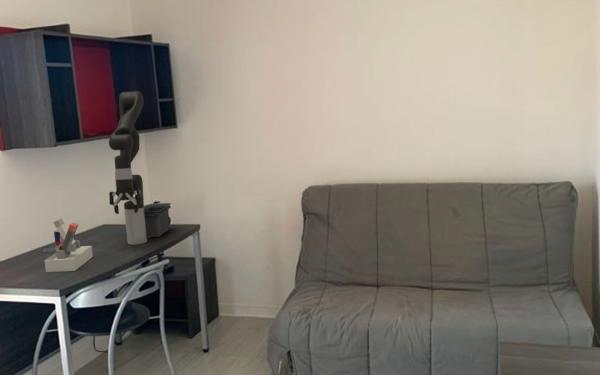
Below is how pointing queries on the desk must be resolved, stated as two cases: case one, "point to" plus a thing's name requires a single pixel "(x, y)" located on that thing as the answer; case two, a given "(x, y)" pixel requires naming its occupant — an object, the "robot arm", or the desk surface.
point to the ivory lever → (62, 229)
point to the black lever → (69, 237)
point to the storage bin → (156, 219)
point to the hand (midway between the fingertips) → (126, 213)
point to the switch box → (69, 258)
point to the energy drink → (58, 240)
